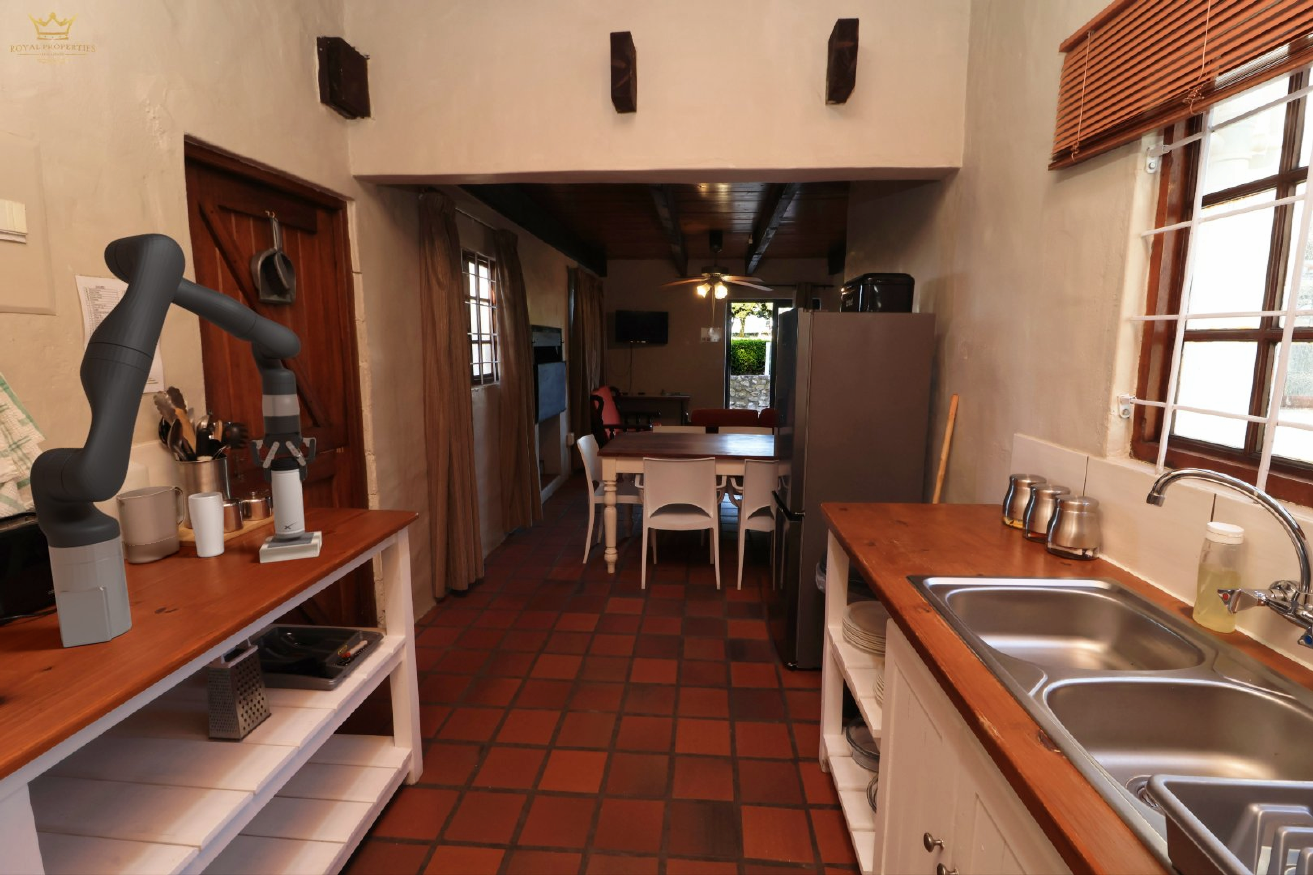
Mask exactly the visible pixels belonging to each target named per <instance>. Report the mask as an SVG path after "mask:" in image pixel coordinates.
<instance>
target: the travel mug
mask: <svg viewBox="0 0 1313 875" xmlns="http://www.w3.org/2000/svg"><path fill="white" fill-rule="evenodd" d="M297 459H299V457H297V456H294V455H292V456H291V455H289V456H284V457H278V458H277V459H273V460H271V463H270V467H271V472H272V473H271V482H272V483H271V492H272V494H271V495H272V507H273V519H274V520H273V522H274V530H275V532H274V533H275V535H274V536H276V537H277V538H281V539H287V538H295V537H299V536H302V535H303V534H304V533H306V529H305V516H304V515H305V514H304V500H303V499H304V498H303V497H304V496H303V487H302V486H303V485H302V481H301V480H300V467H299V466H300V463H299V461H298V460H297Z"/></svg>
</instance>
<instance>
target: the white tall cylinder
mask: <svg viewBox="0 0 1313 875" xmlns="http://www.w3.org/2000/svg"><path fill="white" fill-rule="evenodd" d="M187 499H188V500H187V502H188V512H189V518H190V522H191V527H192V531H193V532H192V533H193V534H194V540H195V546H196V552H197V553H196V554H197V556H198V557H200V558H212V557H217V556H219V555H222V554H223V553H224V552H225V542H224V541H225V540H224V535H225V531H224V528H225V527H224V526H225V516H224V515H225V508H224V500H223V493H222V492H221V491H220V492H219V491H207V492H199V493H194V494H190V495H188V497H187Z"/></svg>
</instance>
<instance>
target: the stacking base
mask: <svg viewBox="0 0 1313 875" xmlns="http://www.w3.org/2000/svg"><path fill="white" fill-rule="evenodd" d="M322 544H323V535H322V530H318V531H312V532H305V533H304V534H303V535H302V536H299V537H295V538H287V539H281V538H277V537H276V535H271V536H267V537H266V538H265V540H264V541H263V544H262V545H261V547H260V549H259V551H258V552H259V562H260V564H263V563H265V564H266V563H272V562H282V561H290V560H298V559H305V558H316V557H319V555H320V551H321V548H322Z"/></svg>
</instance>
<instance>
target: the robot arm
mask: <svg viewBox="0 0 1313 875" xmlns="http://www.w3.org/2000/svg"><path fill="white" fill-rule="evenodd" d="M103 257H104V263H105V265H106V267H107V268H108V270H109V271H110V273H112V274H113V276H114V277H115V278H116V279H118V280H120V281H121V282H123V283H125V284H127V288H126V289H125V292H124V294H123V295H122V298H121V299H120V300H119V301H118V303H117V304H116V305H115V306H114V307H113V309H112V310H110V312H109V313H108V314H107V315H106V317H104V319H103V320H101V322H100V323H99V324H98V325H97V327H96V328H95V329H94V331H93V332H92V334H91V336H90V338H89V340H88V342H87V346H86V349H85V351H84V355H83V358H82V359H81V360H82V361H81V363H80V367H79V377H80V382H81V386H82V389H83V392H84V395H85V397H86V399H87V401H88V404H89V408H90V411H91V418H90V419H91V420H90V425H89V427H90V428H89V431H88V434H87V437H86V440H85V443H84V445H83V447H57V448H56V447H55V448H51V449H48V450H45V451H44V452H42V453H40V454H39V455H38V456H37V457H36V458H35V459H34V461H33V463H32V466H31V468H30V472H29V484H30V486H29V487H30V491H31V496H32V500H33V506H34V511H35V515H36V520H37V524H38V528H40V531H41V532H42V533H43V534H44V536H45V537H46V540H47V545H48V553H49V560H50V570H51V575H52V581H53V589H54V595H55V605H56V609H57V617H58V618H57V619H58V625H59V630H60V631H59V632H60V639H61V643H62V647H63V648H70V647H76V646H83V645H89V644H96V643H102V642H103V643H104V642H108V641H109V642H110V641H111V640H112V639H113V638H115V637H118V636H120V635H122V634H124V633H126V632H128V631H129V630H131V628H132V624H133V623H132V616H131V615H132V614H131V606H130V600H129V599H130V598H129V592H128V591H129V590H128V584H127V577H126V568H125V561H124V552H123V543H122V535H121V534H122V533H121V526H120V522H119V520H118V519H117V518H115V517H113V516H112V515H108V514H107V513H105V512H103V511H102V510H100V509H99V508H98V507H97V506H96V505H95V504H94V503H100V502H101V503H102V502H106V501H109V500H111V499H112V498H114V497H116V496H117V494H118V493H119V492H120V491H121V490H122V488H123V485H124V484H125V480H126V478H127V476H128V475H127V474H128V470H129V464H130V458H131V451H132V444H133V439H134V432H135V427H136V422H137V418H138V414H139V410H140V406H141V402H142V398H143V395H144V392H145V388H146V386H147V384H148V383H147V382H148V379H149V378H150V377H149V376H150V373H151V369H152V367H153V362H154V359H155V354H156V350H157V346H158V343H159V339H160V337H161V334H162V330H163V327H164V324H165V320H166V318H167V315H168V311H169V309H170V306H171V304H173V305H175V306H178V307H180V308H182V309H184V310H186V311H188V312H191V313H193V315H196V316H198V317H200V318H202V319H204V320H206V321H208V322H210V323H211V324H213V325H214V326H216V327H218V328H219V329H221V330H222V331H224V332H225V333H228V335H231V336H233V337H234V338H235V339H238V340H240V341H243V342H248V343H250V351H251V355H252V358H253V360H254V362H255V365H256V366H255V367H256V368H257V370H258V373H259V375H260V378H261V390H262V393H261V394H262V400H261V401H262V402H261V405H262V406H261V407H262V409H261V410H262V417H263V418H262V419H263V420H262V422H263V430H264V431H263V432H264V433H263V434H264V435H263V438H262V439H258V440H256V439H253V440H251V441H249V443H248V444H249V449H250V453H251V458H252V461H253V465H254V466H255V467H261V468H262V469H263V479H264V481H265V482H267V484H272V482H271V473H272V472H271V465H270V463H271V460H274V458H275V456H277V457H278V456H283V455H286V456H291V455H292V456H297V457H299V459H297V460H298V461H299V463H300V464H299V465H300V466H299V467H300V480H301V482H304V481H305V480H306V479H307V477H308V465H309V464H313V463H314V462H315V460H316V449H317V448H316V445H317V439H316V437H314V436H313V437H304V436H303V434H302V430H301V418H300V410H301V409H300V404H299V400H298V393H297V383H296V381H297V380H296V374H295V373H294V371H293V370H291V369H287V368H285V367H284V366H283V363H282V361H281V360H289V359H294V358H295V357H296V356H298V355H299V354H300V352H301V347H302V345H301V344H302V342H301V340H300V338H299V337H298V335H297V334H296V333H295V332H294V331H293V330H292V329H290V328H288V327H287V326H285V325H282V324H280V323H279V322H276V321H274V320H271V319H269V318H267V317H264V316H261V315H260V314H259V313H257V312H256V311H254V310H252V309H251V308H249V307H248V306H246V305H245V304H243V303H242V302H240V301H239V300H237V299H235V298H233V297H232V296H230V295H228V294H225V293H224V292H223V293H222V292H221V291H218V290H214V289H213V288H209V287H208V286H207V287H206V286H204V285H202V284H199V283H197V282H194V281H192V280H191V279H190V280H189V279H187V278H185V277H184V274H185V272H186V258H185V253H184V250H183V249H182V247H181V245H180V244H179V243H178V241H176V240H175V239H174V238H172V237H170V236H169V235H165V234H163V233H144V234H143V233H141V234H136V235H131V236H126V237H120V238H117V239H115V240H112V241H110V242H109V243H108V244H107V246H106V247H105V249H104V252H103ZM303 443H304V444H305V446H306V447H308V457H307V458H305V456H304V454H303V453H302V451H301V450H300V447H301V445H302V444H303ZM262 445H264V446H265V447H266V448H267V449H268V450H269V452H268V454H267V456H266V458H265V460H262V459H261V458H262V457H261V454H260V449H262Z"/></svg>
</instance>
